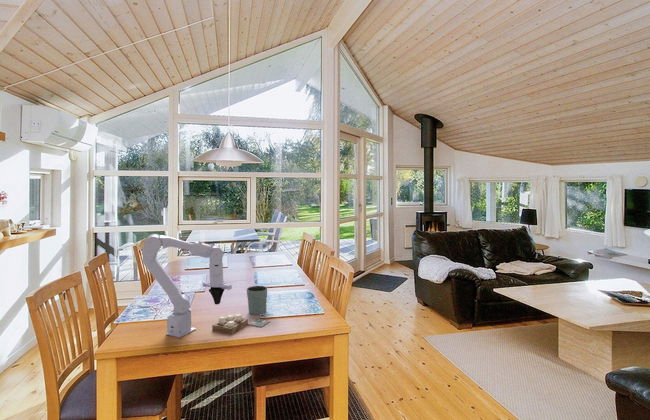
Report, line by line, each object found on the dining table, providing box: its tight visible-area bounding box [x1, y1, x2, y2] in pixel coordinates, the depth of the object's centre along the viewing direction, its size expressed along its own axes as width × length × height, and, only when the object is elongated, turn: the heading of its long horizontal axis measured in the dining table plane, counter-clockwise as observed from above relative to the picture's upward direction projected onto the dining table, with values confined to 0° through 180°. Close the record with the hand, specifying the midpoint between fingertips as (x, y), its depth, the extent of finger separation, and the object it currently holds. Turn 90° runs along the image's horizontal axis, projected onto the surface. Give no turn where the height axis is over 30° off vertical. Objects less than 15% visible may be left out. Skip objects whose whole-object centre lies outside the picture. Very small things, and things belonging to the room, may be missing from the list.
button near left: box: [218, 316, 226, 325], centre depth 157 cm, size 3×3×3 cm
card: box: [247, 318, 271, 328], centre depth 164 cm, size 7×7×1 cm
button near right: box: [228, 321, 234, 327], centre depth 155 cm, size 3×3×3 cm
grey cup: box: [246, 285, 268, 316], centre depth 178 cm, size 10×10×12 cm
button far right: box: [235, 313, 243, 323], centre depth 160 cm, size 3×3×3 cm
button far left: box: [226, 314, 234, 321], centre depth 162 cm, size 3×3×3 cm
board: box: [211, 315, 249, 335], centre depth 159 cm, size 12×10×2 cm
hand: (217, 303), depth 159 cm, fingers closed
